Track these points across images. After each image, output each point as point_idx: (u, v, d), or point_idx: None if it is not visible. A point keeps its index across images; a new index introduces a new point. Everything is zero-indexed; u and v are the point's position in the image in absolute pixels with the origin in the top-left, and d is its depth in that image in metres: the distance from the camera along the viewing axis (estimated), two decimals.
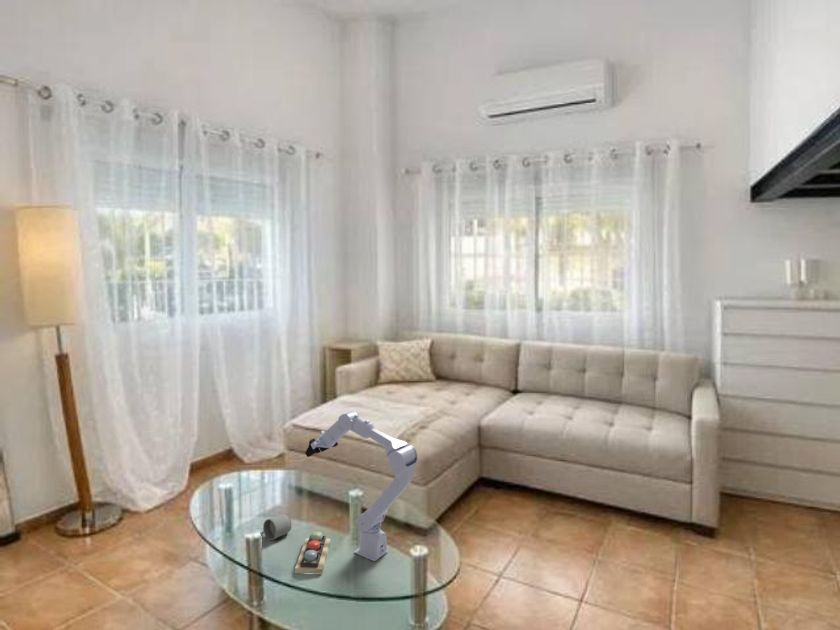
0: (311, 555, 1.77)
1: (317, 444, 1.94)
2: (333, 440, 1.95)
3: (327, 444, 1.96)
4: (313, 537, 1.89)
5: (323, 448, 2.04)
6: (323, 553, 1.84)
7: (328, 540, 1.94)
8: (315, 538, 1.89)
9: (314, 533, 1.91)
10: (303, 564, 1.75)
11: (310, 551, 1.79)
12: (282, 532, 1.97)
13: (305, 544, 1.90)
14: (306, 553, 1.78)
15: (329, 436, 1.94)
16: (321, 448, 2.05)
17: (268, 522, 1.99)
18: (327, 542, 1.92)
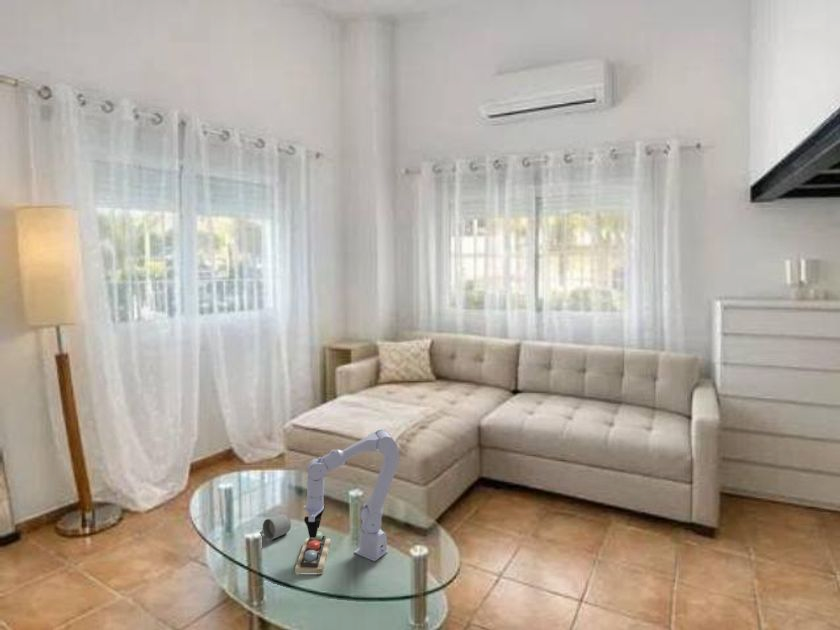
0: (311, 555, 1.77)
1: (313, 515, 1.78)
2: (320, 498, 1.82)
3: (319, 508, 1.81)
4: None
5: None
6: (323, 553, 1.84)
7: (328, 540, 1.94)
8: (315, 538, 1.89)
9: None
10: (303, 564, 1.75)
11: (310, 551, 1.79)
12: (281, 532, 1.97)
13: (305, 544, 1.90)
14: (306, 553, 1.78)
15: (314, 499, 1.80)
16: None
17: (267, 522, 2.00)
18: (327, 542, 1.92)
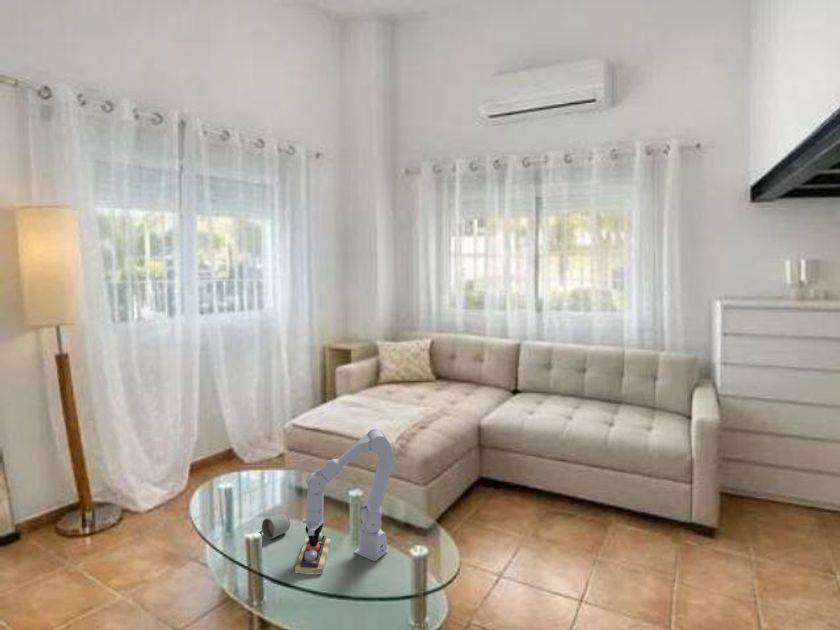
0: (311, 555, 1.77)
1: (312, 529, 1.78)
2: (320, 512, 1.82)
3: (319, 521, 1.82)
4: None
5: None
6: (323, 553, 1.84)
7: (328, 540, 1.94)
8: None
9: None
10: (303, 564, 1.75)
11: (310, 551, 1.79)
12: (280, 531, 1.97)
13: (305, 544, 1.90)
14: (306, 553, 1.78)
15: (314, 512, 1.81)
16: None
17: (267, 521, 2.00)
18: (327, 542, 1.92)
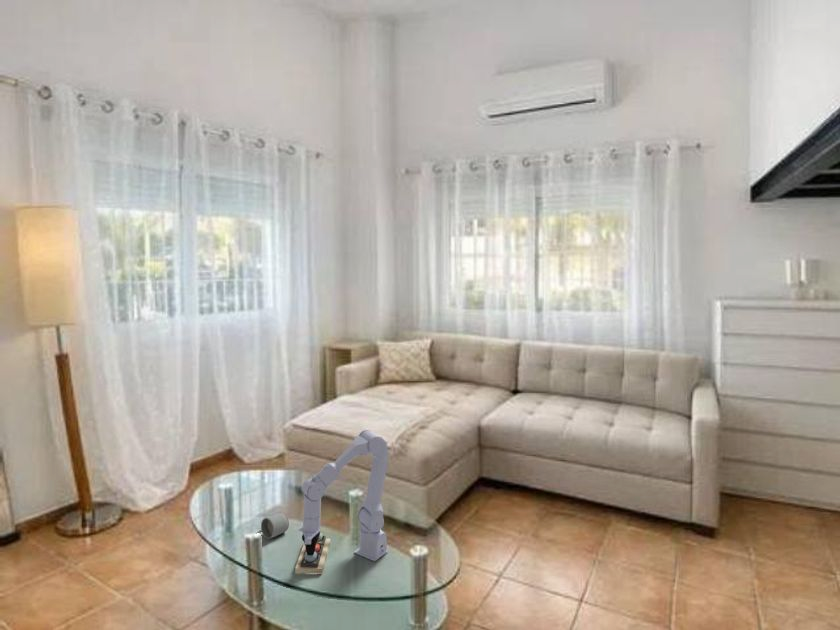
0: (311, 556, 1.77)
1: (309, 537, 1.72)
2: (317, 519, 1.75)
3: (316, 529, 1.75)
4: None
5: None
6: (323, 553, 1.84)
7: (328, 540, 1.94)
8: None
9: None
10: (303, 564, 1.75)
11: None
12: (280, 531, 1.97)
13: None
14: (306, 554, 1.78)
15: (311, 520, 1.74)
16: None
17: (266, 521, 2.00)
18: (327, 542, 1.92)
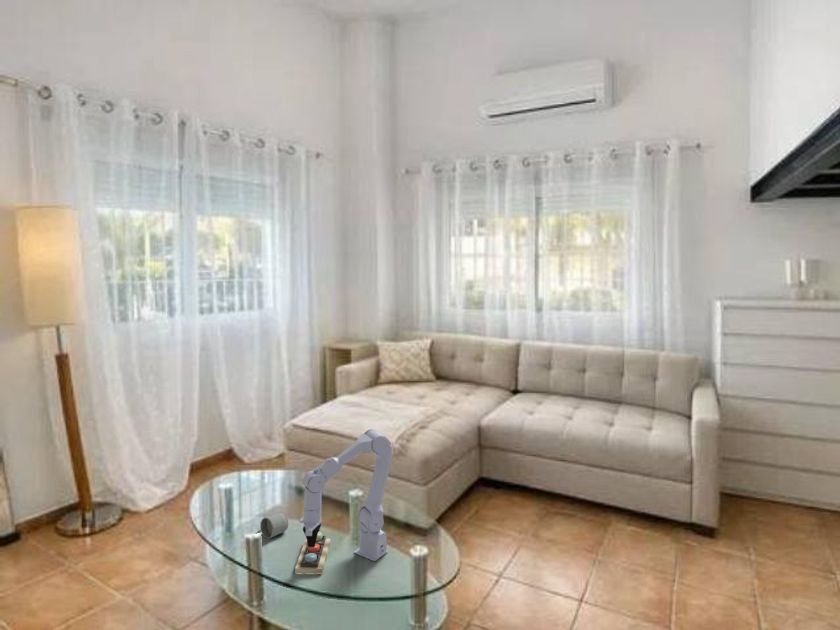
0: (311, 558, 1.77)
1: (310, 529, 1.73)
2: (318, 511, 1.76)
3: (317, 521, 1.76)
4: None
5: None
6: (323, 553, 1.84)
7: (328, 540, 1.94)
8: None
9: None
10: (303, 564, 1.75)
11: (310, 554, 1.79)
12: (279, 530, 1.98)
13: (305, 544, 1.90)
14: (306, 556, 1.78)
15: (312, 512, 1.75)
16: None
17: (265, 520, 2.01)
18: (327, 542, 1.92)
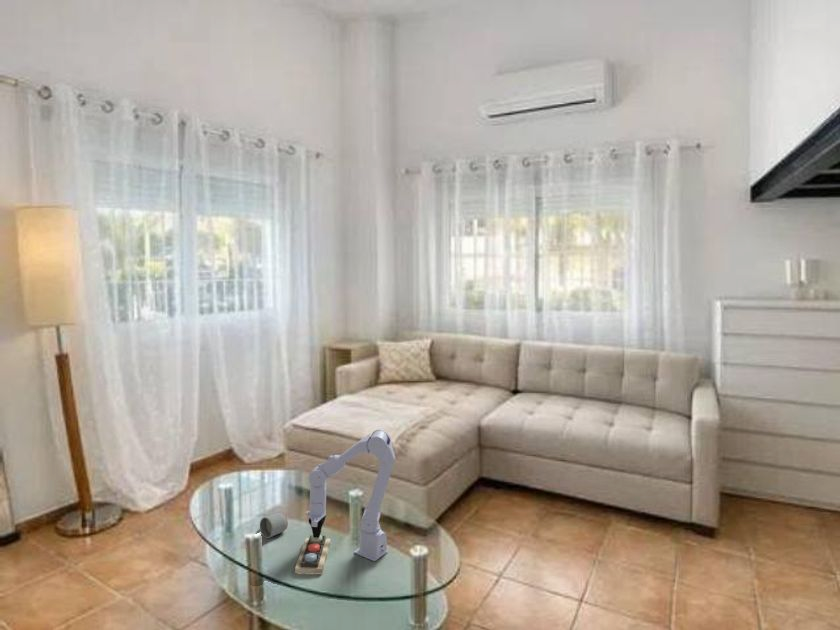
0: (311, 558, 1.77)
1: (315, 520, 1.85)
2: (323, 504, 1.88)
3: (321, 513, 1.88)
4: (313, 540, 1.89)
5: None
6: (323, 553, 1.84)
7: (328, 540, 1.94)
8: (315, 540, 1.89)
9: None
10: (303, 564, 1.75)
11: (310, 554, 1.79)
12: (278, 530, 1.98)
13: (305, 544, 1.90)
14: (306, 556, 1.78)
15: (317, 505, 1.87)
16: None
17: (264, 520, 2.01)
18: (327, 542, 1.92)
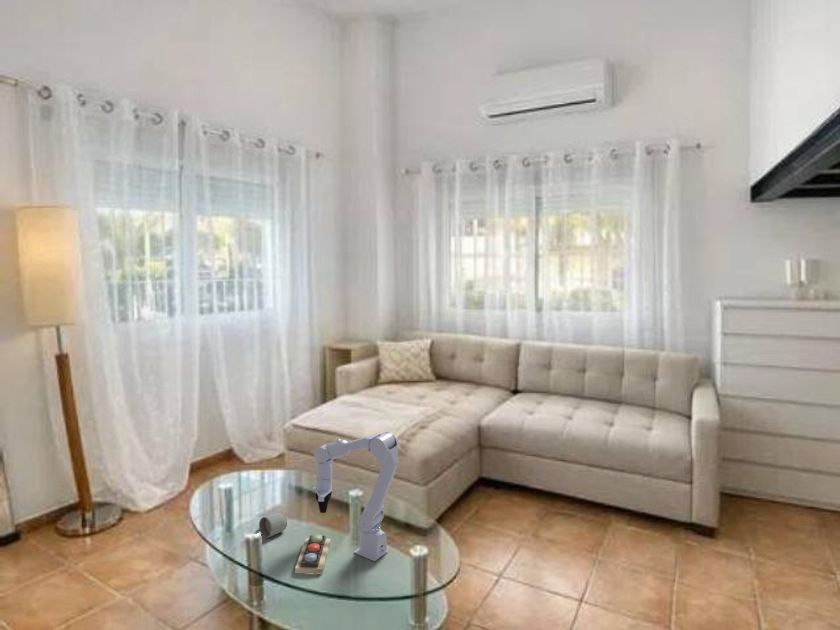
0: (311, 558, 1.77)
1: (322, 495, 1.92)
2: (329, 480, 1.95)
3: (328, 489, 1.95)
4: (313, 540, 1.89)
5: None
6: (323, 553, 1.84)
7: (328, 540, 1.94)
8: (315, 541, 1.89)
9: (314, 536, 1.91)
10: (303, 564, 1.75)
11: (310, 554, 1.79)
12: (278, 530, 1.98)
13: (305, 544, 1.90)
14: (306, 556, 1.78)
15: (324, 480, 1.94)
16: None
17: (264, 520, 2.01)
18: (327, 542, 1.92)
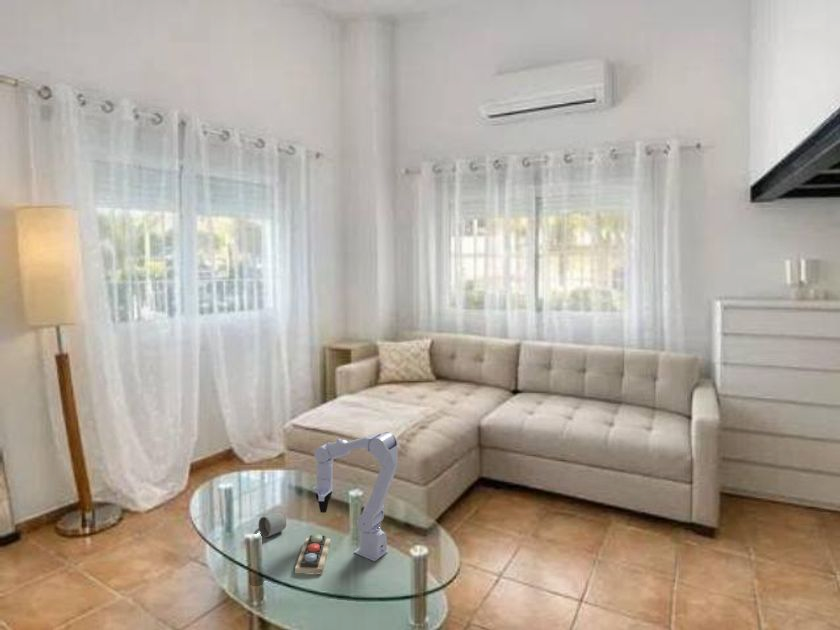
0: (311, 558, 1.77)
1: (322, 495, 1.92)
2: (329, 480, 1.95)
3: (328, 488, 1.95)
4: (313, 540, 1.89)
5: None
6: (323, 553, 1.84)
7: (328, 540, 1.94)
8: (315, 541, 1.89)
9: (314, 536, 1.91)
10: (303, 564, 1.75)
11: (310, 554, 1.79)
12: (277, 529, 1.98)
13: (305, 544, 1.90)
14: (306, 556, 1.78)
15: (324, 480, 1.94)
16: None
17: (263, 520, 2.01)
18: (327, 542, 1.92)
